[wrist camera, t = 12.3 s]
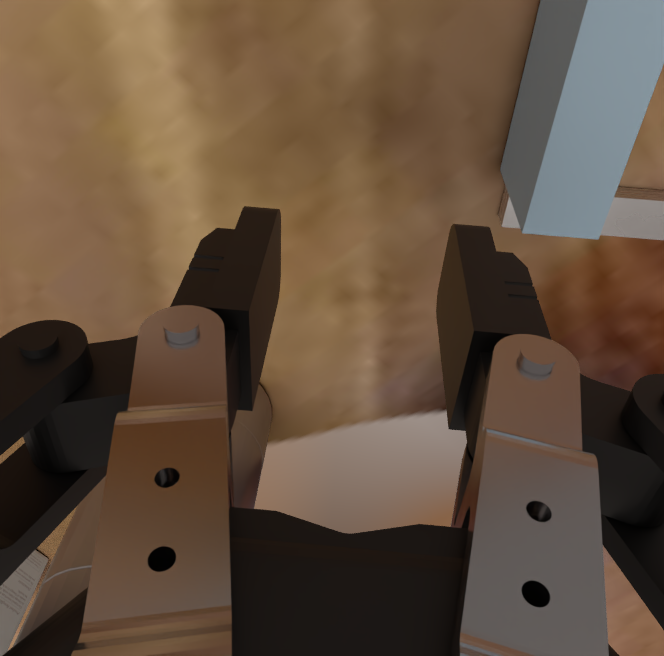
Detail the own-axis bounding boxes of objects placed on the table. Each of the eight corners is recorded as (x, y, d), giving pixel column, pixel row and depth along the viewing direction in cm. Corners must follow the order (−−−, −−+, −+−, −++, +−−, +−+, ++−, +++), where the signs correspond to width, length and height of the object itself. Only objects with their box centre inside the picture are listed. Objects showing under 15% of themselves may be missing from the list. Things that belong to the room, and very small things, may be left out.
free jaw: (566, 175, 29) (600, 239, 24) (500, 169, 29) (522, 232, 24) (644, -78, 23) (711, -57, 18) (560, -84, 23) (606, -65, 18)
